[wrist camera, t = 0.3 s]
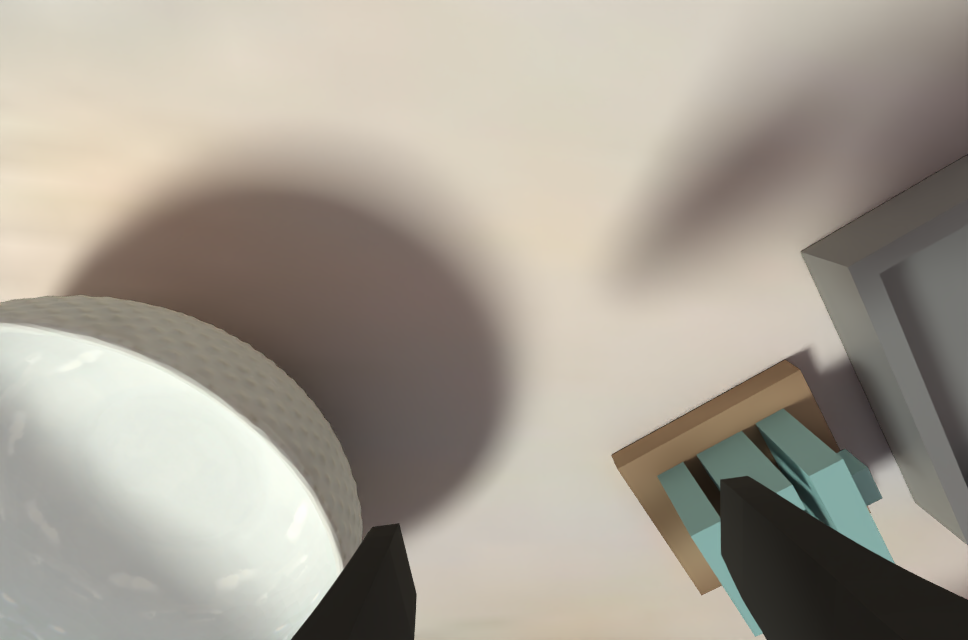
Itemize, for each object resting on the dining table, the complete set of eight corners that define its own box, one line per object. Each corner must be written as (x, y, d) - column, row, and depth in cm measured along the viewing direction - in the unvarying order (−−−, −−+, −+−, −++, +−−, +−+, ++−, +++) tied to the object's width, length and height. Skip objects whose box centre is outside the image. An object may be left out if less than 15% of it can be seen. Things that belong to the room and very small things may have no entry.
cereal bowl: (360, 247, 19) (300, 302, 13) (406, 597, 25) (381, 766, 18) (-97, 274, 19) (-403, 342, 13) (47, 617, 25) (-114, 795, 18)
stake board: (854, 497, 23) (952, 588, 18) (692, 577, 24) (745, 682, 20) (785, 359, 21) (876, 422, 16) (611, 455, 22) (648, 539, 17)
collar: (856, 495, 22) (925, 558, 19) (714, 565, 23) (755, 636, 20) (806, 395, 20) (872, 444, 17) (656, 475, 21) (690, 536, 18)
